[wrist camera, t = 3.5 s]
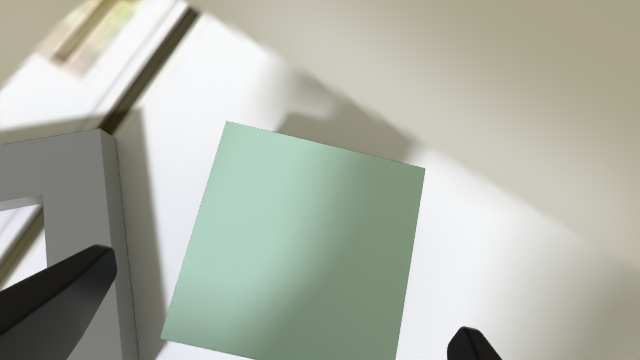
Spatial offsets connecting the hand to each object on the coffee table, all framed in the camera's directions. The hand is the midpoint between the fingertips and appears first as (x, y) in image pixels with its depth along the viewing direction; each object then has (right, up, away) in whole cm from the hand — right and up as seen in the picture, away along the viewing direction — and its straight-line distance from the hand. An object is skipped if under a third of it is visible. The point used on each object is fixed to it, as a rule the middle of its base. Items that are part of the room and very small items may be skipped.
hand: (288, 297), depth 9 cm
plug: (0, -1, +8) cm, 8 cm away
